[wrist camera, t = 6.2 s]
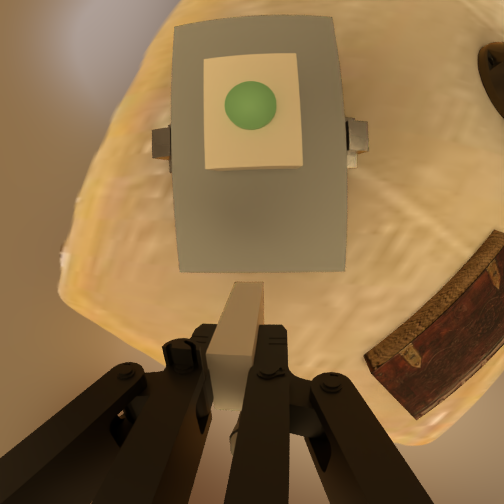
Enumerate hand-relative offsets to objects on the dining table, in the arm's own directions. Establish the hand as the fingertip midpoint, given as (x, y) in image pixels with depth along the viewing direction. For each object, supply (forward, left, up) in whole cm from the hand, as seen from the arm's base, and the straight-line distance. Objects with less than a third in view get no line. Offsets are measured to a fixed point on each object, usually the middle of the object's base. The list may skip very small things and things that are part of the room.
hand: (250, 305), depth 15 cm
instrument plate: (-5, -10, -13) cm, 17 cm away
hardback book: (-19, +29, -21) cm, 41 cm away
